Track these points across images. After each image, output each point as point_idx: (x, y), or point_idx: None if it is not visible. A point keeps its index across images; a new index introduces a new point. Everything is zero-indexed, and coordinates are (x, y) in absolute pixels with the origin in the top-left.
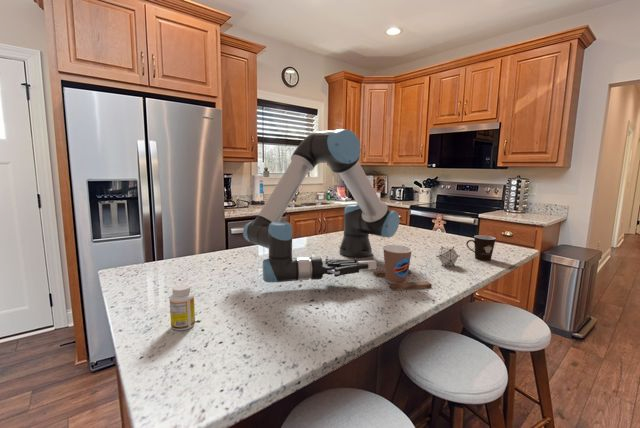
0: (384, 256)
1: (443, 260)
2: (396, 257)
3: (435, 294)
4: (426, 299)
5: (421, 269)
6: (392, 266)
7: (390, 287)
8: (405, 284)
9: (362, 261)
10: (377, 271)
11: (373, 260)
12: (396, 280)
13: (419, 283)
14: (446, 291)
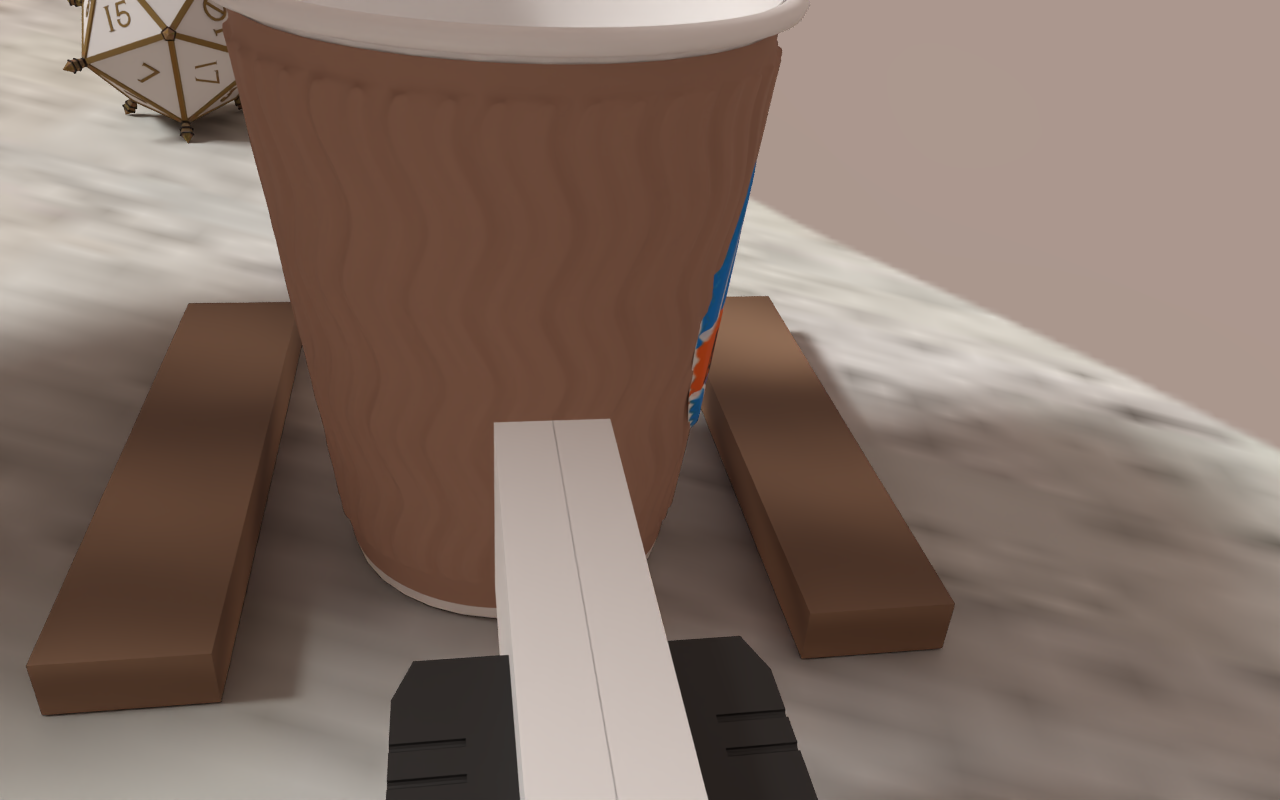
0: (482, 226)
1: (195, 80)
2: (760, 128)
3: (957, 360)
4: (1136, 449)
5: (195, 243)
6: (682, 332)
7: (829, 652)
8: (814, 464)
9: (596, 717)
10: (114, 615)
11: (518, 448)
12: (671, 502)
13: (758, 357)
14: (855, 290)
